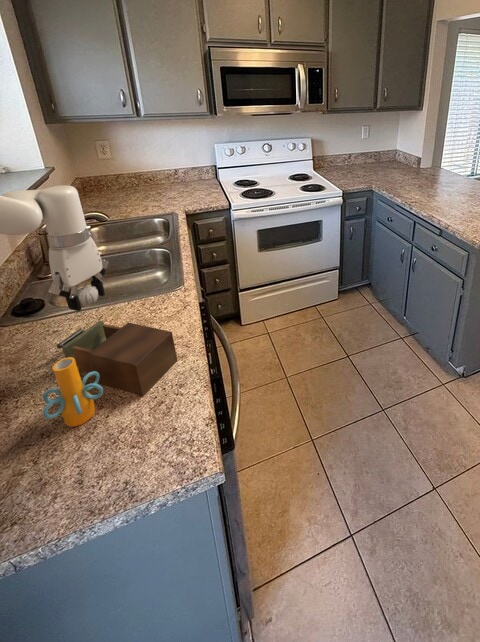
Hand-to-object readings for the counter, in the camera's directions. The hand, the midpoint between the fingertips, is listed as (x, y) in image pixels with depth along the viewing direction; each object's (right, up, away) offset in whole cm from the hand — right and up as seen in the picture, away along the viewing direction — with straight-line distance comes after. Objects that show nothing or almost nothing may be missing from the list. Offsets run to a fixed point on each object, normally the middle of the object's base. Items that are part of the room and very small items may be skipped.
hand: (87, 301), depth 91 cm
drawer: (-2, -18, +7) cm, 19 cm away
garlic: (0, -1, 0) cm, 1 cm away
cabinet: (+11, -20, +4) cm, 23 cm away
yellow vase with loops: (+4, -24, -9) cm, 26 cm away
